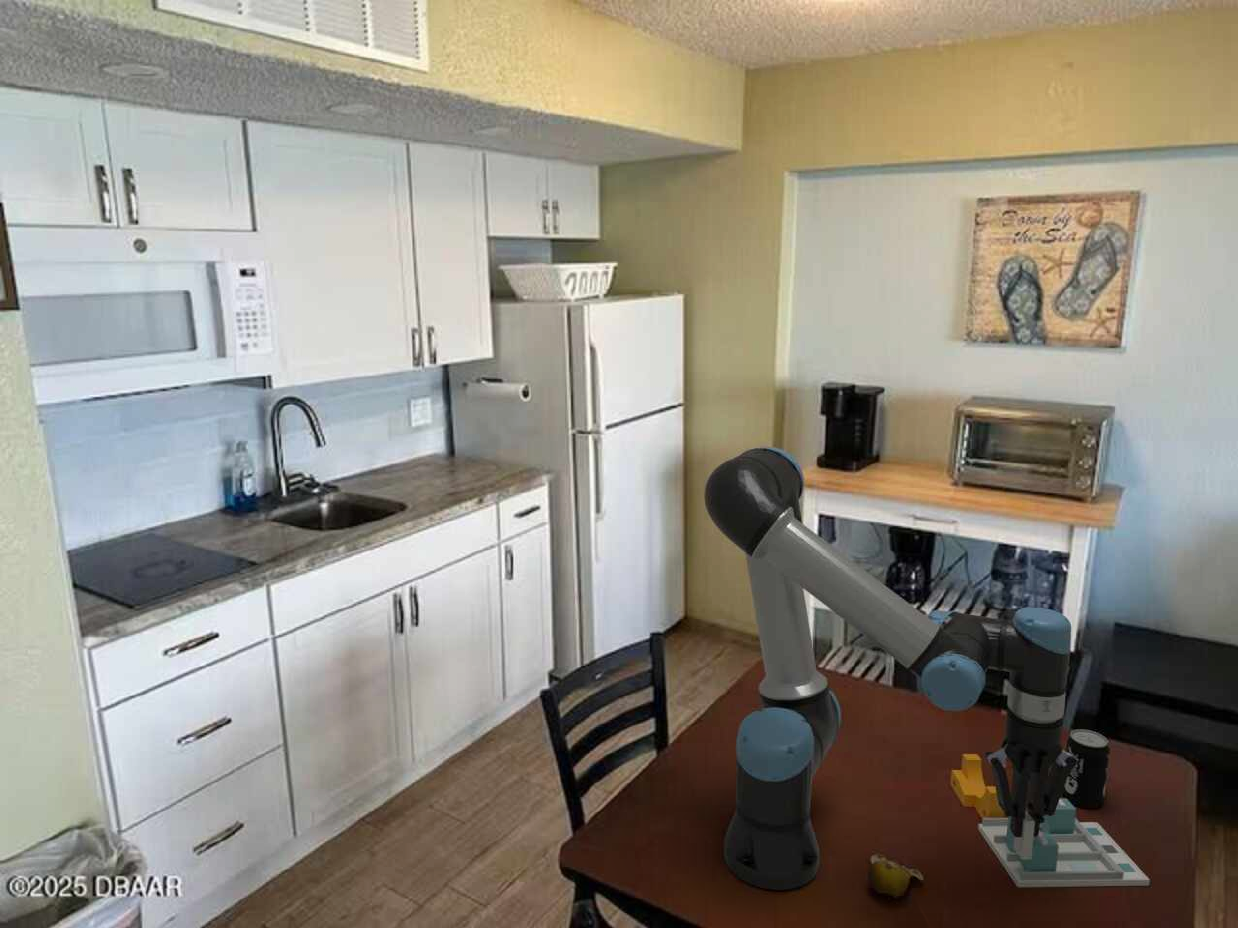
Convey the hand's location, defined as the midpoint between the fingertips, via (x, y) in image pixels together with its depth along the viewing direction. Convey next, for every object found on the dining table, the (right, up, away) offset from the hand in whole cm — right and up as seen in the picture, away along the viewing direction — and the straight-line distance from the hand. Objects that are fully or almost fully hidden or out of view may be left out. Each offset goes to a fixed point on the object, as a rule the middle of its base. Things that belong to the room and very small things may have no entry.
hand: (1022, 853), depth 128 cm
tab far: (+10, -1, +9) cm, 14 cm away
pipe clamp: (+1, -1, +19) cm, 19 cm away
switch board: (+9, -3, +5) cm, 10 cm away
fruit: (-19, -5, +3) cm, 20 cm away
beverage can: (+20, 0, +20) cm, 29 cm away
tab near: (+3, -3, +1) cm, 4 cm away
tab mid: (+2, -2, +5) cm, 6 cm away
